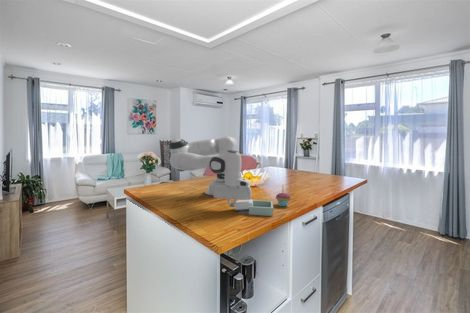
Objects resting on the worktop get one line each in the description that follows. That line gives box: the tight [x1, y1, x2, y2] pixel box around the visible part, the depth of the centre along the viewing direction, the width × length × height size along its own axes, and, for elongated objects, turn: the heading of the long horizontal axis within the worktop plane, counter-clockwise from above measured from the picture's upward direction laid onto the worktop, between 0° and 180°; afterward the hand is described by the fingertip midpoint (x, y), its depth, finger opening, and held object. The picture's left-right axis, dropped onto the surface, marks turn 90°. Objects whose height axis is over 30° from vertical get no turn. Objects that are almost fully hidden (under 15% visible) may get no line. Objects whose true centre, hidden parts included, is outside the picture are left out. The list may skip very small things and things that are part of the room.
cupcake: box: [275, 184, 292, 207], centre depth 137 cm, size 9×8×12 cm
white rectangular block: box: [234, 198, 254, 212], centre depth 126 cm, size 9×7×4 cm
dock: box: [237, 199, 274, 217], centre depth 126 cm, size 18×13×5 cm
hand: (232, 206), depth 127 cm, fingers closed
